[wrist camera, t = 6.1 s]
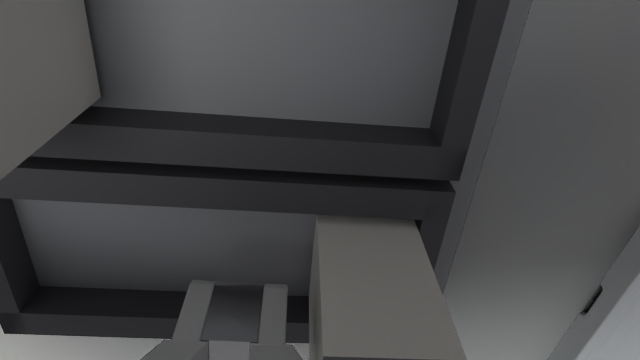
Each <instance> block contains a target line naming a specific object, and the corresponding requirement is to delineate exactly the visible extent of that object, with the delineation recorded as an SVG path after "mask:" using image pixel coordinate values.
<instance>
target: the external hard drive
mask: <svg viewBox="0 0 640 360" xmlns="http://www.w3.org/2000/svg"><path fill="white" fill-rule="evenodd" d="M600 285H601V286H602V289H601V291H600V292H599V294H598V295H597V296H596V297H595V298H594V302H593V303H592V304H591V306H590V307H589V308H588V309H587V310H586V311H584V312H581V313H580V314H579V315H578V316H577V317H576V319H575V320H574V322H573V323H572V325H571V326H570V328H569V329H568V330H567V332H566V333H565V335H564V336H563V338H562V339H561V341H560V342H559V343H558V345H557V346H556V348H555V349H554V351H553V352H552V354H551V355H550V356H549V358H548V359H547V360H640V226H639V227H638V229H637V230H636V232H635V233H634V235H633V236H632V237H631V239H630V240H629V242H628V243H627V245H626V246H625V248H624V249H623V251H622V252H621V253H620V255H619V256H618V258H617V259H616V261H615V262H614V264H613V265H612V267H611V268H610V269H609V271H608V272H607V274H606V275H605V277H604V278H603V280H602V281H601V283H600Z"/></svg>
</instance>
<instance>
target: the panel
mask: <svg viewBox="0 0 640 360" xmlns="http://www.w3.org/2000/svg"><path fill="white" fill-rule="evenodd" d="M531 3H532V0H84V5H85V11H86V16H87V22H88V27H89V33H90V39H91V44H92V50H93V56H94V61H95V67H96V72H97V78H98V84H99V89H100V95H101V98H99V99H98V100H97V101H96V102H94V103H93V104H92V105H91V106H90V107H88V108H87V109H86V110H85V111H84V112H82V113H81V114H80V115H79V116H77V117H76V118H75V119H74V120H73V121H71V122H70V123H69V124H68V125H67V126H65V127H64V128H63V129H62V130H61V131H59V132H58V133H57V134H56V135H54V136H53V137H52V138H51V139H50V140H48V141H47V142H46V143H45V144H44V145H42V146H41V147H40V148H39V149H38V150H36V151H35V152H34V153H33V154H31V155H30V156H29V157H28V158H27V159H25V160H24V161H23V162H22V163H21V164H19V165H18V166H17V167H16V168H14V169H13V170H12V171H11V172H10V173H8V174H7V175H6V176H5V177H4V178H2V179H1V180H0V324H1V327H2V329H3V332H4V334H34V335H66V336H97V337H128V338H160V339H172V337H173V334H174V331H175V328H176V324H177V321H178V318H179V315H180V312H181V309H182V306H183V303H184V300H185V297H186V294H187V291H188V288H189V285H190V283H191V282H192V280H204V281H224V282H238V283H257V284H264V285H265V284H286V285H287V287H288V295H287V317H286V340H285V343H309V286H310V276H311V265H312V254H313V244H314V233H315V223H316V215H335V216H355V217H374V218H393V219H413V220H415V223H416V225H417V228H418V231H419V233H420V236H421V239H422V242H423V244H424V247H425V250H426V252H427V255H428V258H429V260H430V263H431V266H432V268H433V271H434V274H435V276H436V279H437V282H438V284H439V287H440V290H441V292H442V294H443V291H444V288H445V284H446V281H447V278H448V275H449V271H450V268H451V265H452V262H453V258H454V255H455V252H456V248H457V245H458V242H459V239H460V235H461V232H462V229H463V225H464V222H465V219H466V216H467V212H468V209H469V206H470V203H471V199H472V196H473V193H474V189H475V186H476V183H477V180H478V176H479V173H480V170H481V167H482V163H483V160H484V157H485V153H486V150H487V147H488V144H489V140H490V137H491V134H492V131H493V127H494V124H495V121H496V117H497V114H498V111H499V108H500V104H501V101H502V98H503V95H504V91H505V88H506V85H507V81H508V78H509V75H510V72H511V68H512V65H513V62H514V59H515V55H516V52H517V49H518V45H519V42H520V39H521V36H522V32H523V29H524V26H525V22H526V19H527V16H528V13H529V9H530V6H531Z"/></svg>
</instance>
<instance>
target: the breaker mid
mask: <svg viewBox="0 0 640 360" xmlns="http://www.w3.org/2000/svg"><path fill="white" fill-rule="evenodd" d="M99 98H101V95H100V89H99V84H98V78H97V72H96V67H95V61H94V56H93V50H92V44H91V39H90V33H89V27H88V22H87V16H86V11H85V5H84V0H0V180H1V179H2V178H4V177H5V176H6V175H7V174H8V173H10V172H11V171H12V170H13V169H14V168H16V167H17V166H18V165H19V164H21V163H22V162H23V161H24V160H25V159H27V158H28V157H29V156H30V155H31V154H33V153H34V152H35V151H36V150H38V149H39V148H40V147H41V146H42V145H44V144H45V143H46V142H47V141H48V140H50V139H51V138H52V137H53V136H54V135H56V134H57V133H58V132H59V131H61V130H62V129H63V128H64V127H65V126H67V125H68V124H69V123H70V122H71V121H73V120H74V119H75V118H76V117H77V116H79V115H80V114H81V113H82V112H84V111H85V110H86V109H87V108H88V107H90V106H91V105H92V104H93V103H94V102H96V101H97V100H98V99H99Z"/></svg>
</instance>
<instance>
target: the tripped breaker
mask: <svg viewBox="0 0 640 360" xmlns="http://www.w3.org/2000/svg"><path fill="white" fill-rule="evenodd" d="M309 360H466V357H465V354H464V351H463V349H462V346H461V343H460V341H459V338H458V335H457V333H456V330H455V327H454V325H453V322H452V319H451V317H450V314H449V311H448V309H447V306H446V303H445V301H444V298H443V295H442V292H441V290H440V287H439V284H438V282H437V279H436V276H435V274H434V271H433V268H432V266H431V263H430V260H429V258H428V255H427V252H426V250H425V247H424V244H423V242H422V239H421V236H420V233H419V231H418V228H417V225H416V223H415V220H413V219H393V218H374V217H355V216H335V215H316V223H315V233H314V244H313V254H312V265H311V276H310V286H309Z"/></svg>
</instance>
